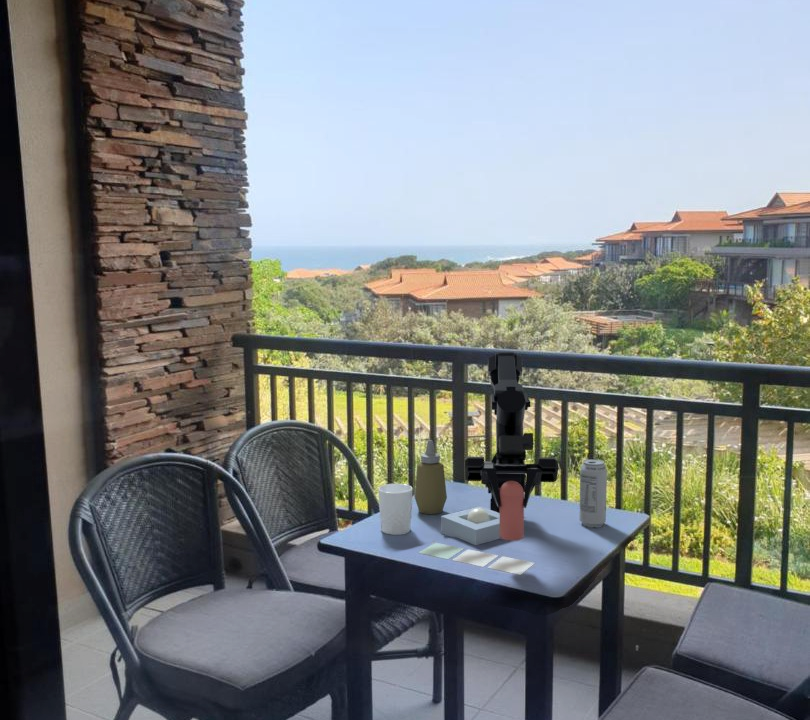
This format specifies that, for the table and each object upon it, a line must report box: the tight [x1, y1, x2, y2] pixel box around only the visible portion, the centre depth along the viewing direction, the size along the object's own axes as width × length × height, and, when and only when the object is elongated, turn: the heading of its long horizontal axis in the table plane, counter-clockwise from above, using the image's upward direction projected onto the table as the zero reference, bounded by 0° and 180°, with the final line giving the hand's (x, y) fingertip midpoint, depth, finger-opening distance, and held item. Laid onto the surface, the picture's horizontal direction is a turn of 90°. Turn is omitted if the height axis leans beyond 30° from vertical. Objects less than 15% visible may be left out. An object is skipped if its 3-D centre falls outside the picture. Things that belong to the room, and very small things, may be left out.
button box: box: [440, 506, 501, 546], centre depth 180 cm, size 12×12×4 cm
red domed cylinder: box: [499, 481, 525, 542], centre depth 159 cm, size 5×5×11 cm
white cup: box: [377, 483, 413, 536], centre depth 184 cm, size 8×8×10 cm
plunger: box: [467, 508, 489, 524], centre depth 180 cm, size 5×5×6 cm
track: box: [418, 541, 535, 576], centre depth 165 cm, size 25×8×1 cm, turn 58°
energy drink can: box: [579, 458, 608, 528], centre depth 186 cm, size 6×6×15 cm
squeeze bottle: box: [413, 439, 448, 515], centre depth 197 cm, size 8×8×18 cm
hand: (512, 506), depth 158 cm, fingers closed on red domed cylinder, 5 cm apart
